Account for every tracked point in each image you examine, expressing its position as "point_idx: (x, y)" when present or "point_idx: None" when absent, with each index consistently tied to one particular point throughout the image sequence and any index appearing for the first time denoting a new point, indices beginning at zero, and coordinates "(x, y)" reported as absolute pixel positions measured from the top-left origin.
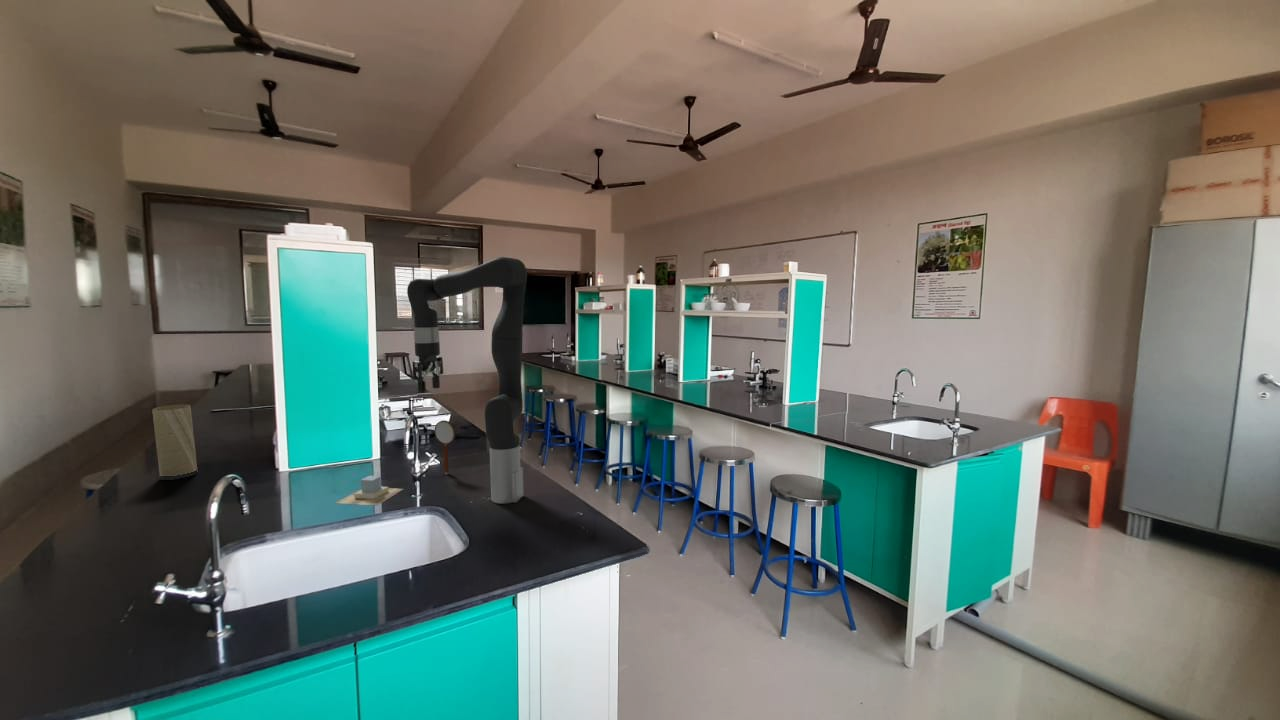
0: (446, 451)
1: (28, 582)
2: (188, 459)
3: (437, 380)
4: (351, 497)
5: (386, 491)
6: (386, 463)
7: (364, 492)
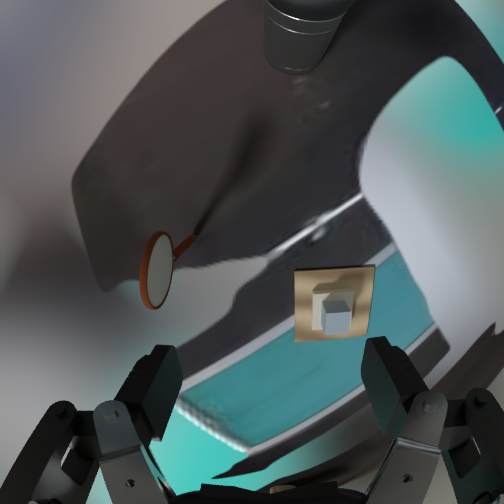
0: (179, 249)
1: None
2: None
3: (154, 390)
4: None
5: (318, 290)
6: None
7: None
